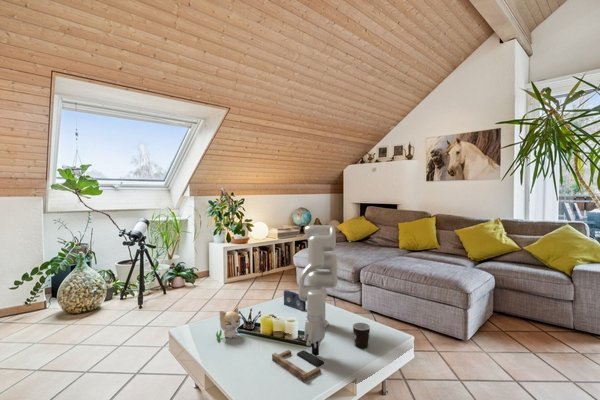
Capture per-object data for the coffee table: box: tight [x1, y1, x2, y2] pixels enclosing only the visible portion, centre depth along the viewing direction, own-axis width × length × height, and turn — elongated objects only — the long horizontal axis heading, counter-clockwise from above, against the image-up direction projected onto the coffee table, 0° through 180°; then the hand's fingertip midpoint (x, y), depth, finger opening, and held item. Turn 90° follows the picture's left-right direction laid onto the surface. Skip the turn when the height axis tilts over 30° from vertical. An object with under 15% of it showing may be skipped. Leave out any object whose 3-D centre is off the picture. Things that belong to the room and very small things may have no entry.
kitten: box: [215, 306, 241, 341], centre depth 168 cm, size 15×10×15 cm
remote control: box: [296, 349, 325, 368], centre depth 145 cm, size 5×2×15 cm
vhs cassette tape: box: [283, 289, 307, 312], centre depth 209 cm, size 18×3×10 cm, turn 46°
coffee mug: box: [352, 322, 371, 350], centre depth 159 cm, size 12×9×10 cm
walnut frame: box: [271, 349, 322, 383], centre depth 139 cm, size 22×10×3 cm, turn 42°
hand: (315, 354), depth 148 cm, fingers closed
